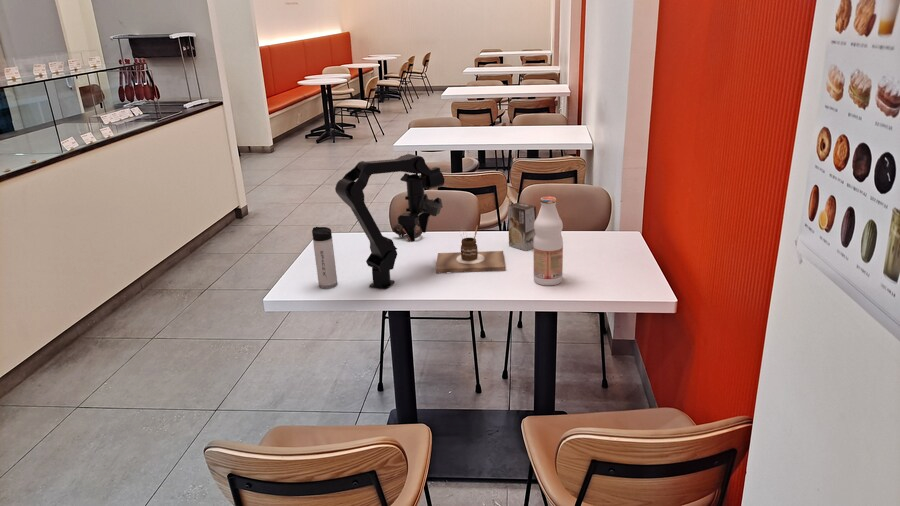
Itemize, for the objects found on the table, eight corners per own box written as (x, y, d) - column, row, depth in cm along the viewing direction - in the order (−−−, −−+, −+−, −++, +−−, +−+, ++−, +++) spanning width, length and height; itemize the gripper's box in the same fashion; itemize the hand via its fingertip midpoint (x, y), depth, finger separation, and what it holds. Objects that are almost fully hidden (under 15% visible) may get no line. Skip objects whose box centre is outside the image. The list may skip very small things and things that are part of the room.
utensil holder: (460, 255, 228) (459, 224, 224) (477, 254, 228) (476, 223, 224) (461, 261, 223) (460, 229, 219) (479, 260, 223) (478, 228, 219)
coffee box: (537, 247, 240) (537, 206, 234) (525, 251, 236) (525, 209, 230) (519, 241, 246) (518, 201, 241) (507, 246, 242) (507, 205, 237)
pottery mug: (420, 234, 263) (424, 220, 257) (419, 250, 256) (423, 236, 250) (391, 229, 261) (395, 214, 255) (390, 245, 254) (393, 231, 248)
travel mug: (328, 279, 218) (321, 224, 212) (341, 283, 214) (335, 227, 208) (314, 285, 214) (307, 229, 207) (327, 290, 210) (320, 232, 203)
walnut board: (503, 254, 234) (503, 249, 233) (505, 270, 218) (505, 265, 218) (438, 256, 235) (437, 251, 234) (435, 273, 220) (435, 267, 219)
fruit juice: (531, 285, 206) (531, 202, 196) (535, 274, 214) (535, 194, 205) (560, 287, 203) (562, 202, 194) (563, 276, 212) (565, 194, 202)
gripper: (426, 201, 200) (429, 247, 206) (448, 186, 217) (450, 230, 222) (395, 199, 204) (398, 244, 210) (418, 185, 221) (421, 227, 226)
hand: (418, 236), depth 217 cm, fingers open, 9 cm apart
